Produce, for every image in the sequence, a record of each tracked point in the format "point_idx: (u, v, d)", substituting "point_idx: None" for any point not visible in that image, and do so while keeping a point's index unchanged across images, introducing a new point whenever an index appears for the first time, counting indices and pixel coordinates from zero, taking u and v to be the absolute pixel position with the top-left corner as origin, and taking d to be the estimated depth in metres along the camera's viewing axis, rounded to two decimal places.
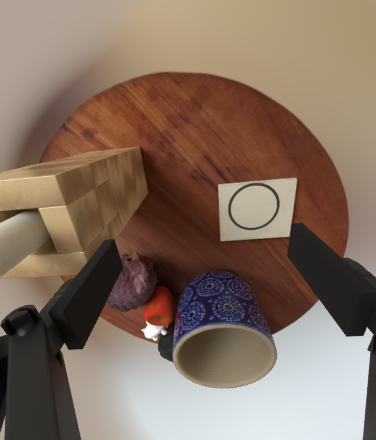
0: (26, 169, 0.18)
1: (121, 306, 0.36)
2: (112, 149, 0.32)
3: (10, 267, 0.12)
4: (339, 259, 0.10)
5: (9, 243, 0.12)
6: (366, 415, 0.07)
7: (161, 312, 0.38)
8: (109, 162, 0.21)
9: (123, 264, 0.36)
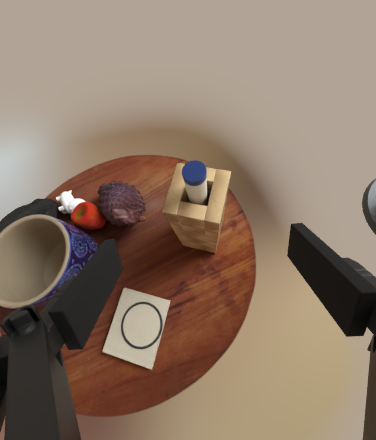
0: None
1: (108, 192, 0.45)
2: (219, 235, 0.47)
3: (186, 186, 0.25)
4: (339, 259, 0.10)
5: (197, 192, 0.25)
6: (366, 415, 0.07)
7: (86, 217, 0.45)
8: (214, 239, 0.34)
9: (139, 207, 0.47)
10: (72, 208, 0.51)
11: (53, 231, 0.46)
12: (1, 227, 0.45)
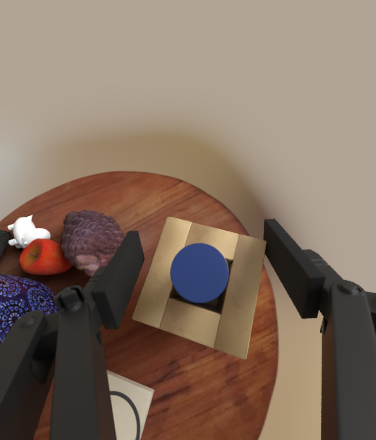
0: None
1: (72, 229, 0.31)
2: None
3: None
4: (299, 250, 0.11)
5: None
6: (322, 394, 0.07)
7: (39, 264, 0.31)
8: None
9: None
10: (28, 242, 0.37)
11: None
12: None
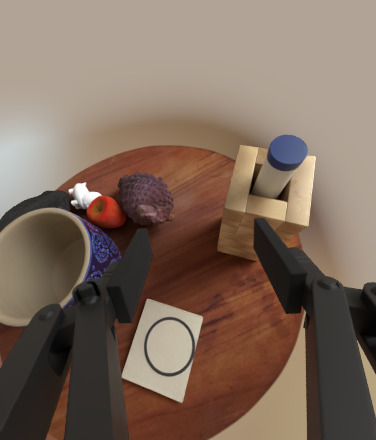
0: None
1: (133, 184, 0.38)
2: None
3: (268, 173, 0.18)
4: (284, 247, 0.12)
5: (282, 181, 0.18)
6: (307, 388, 0.07)
7: (106, 214, 0.38)
8: None
9: (167, 203, 0.40)
10: (87, 203, 0.44)
11: (65, 229, 0.38)
12: (4, 222, 0.38)
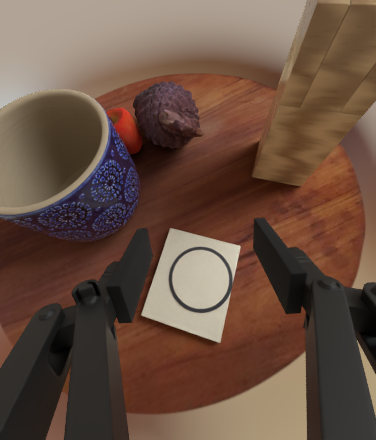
0: None
1: (154, 89, 0.31)
2: None
3: None
4: (284, 247, 0.12)
5: None
6: (307, 388, 0.07)
7: (121, 124, 0.31)
8: (352, 120, 0.20)
9: (195, 117, 0.33)
10: None
11: (72, 144, 0.32)
12: None
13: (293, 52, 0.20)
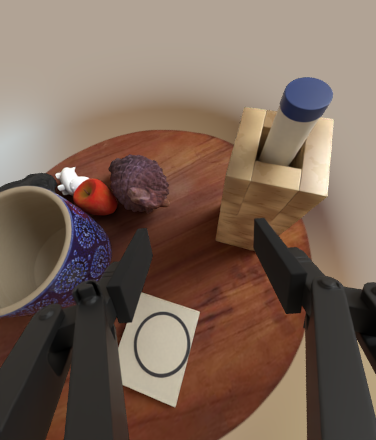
0: None
1: (124, 166, 0.34)
2: None
3: (280, 129, 0.15)
4: (284, 247, 0.12)
5: (297, 139, 0.15)
6: (307, 389, 0.07)
7: (94, 198, 0.34)
8: (281, 229, 0.24)
9: (162, 188, 0.36)
10: (75, 188, 0.40)
11: (49, 214, 0.35)
12: None
13: None
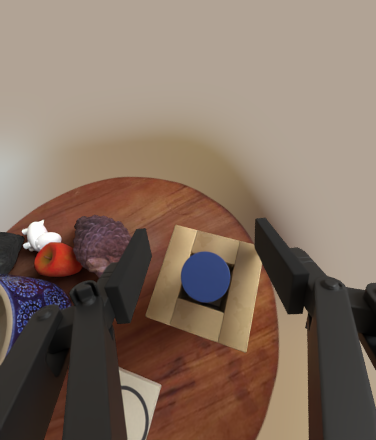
0: None
1: (84, 234, 0.33)
2: None
3: None
4: (286, 248, 0.12)
5: None
6: (308, 389, 0.07)
7: (53, 266, 0.34)
8: None
9: None
10: (41, 246, 0.40)
11: None
12: None
13: None
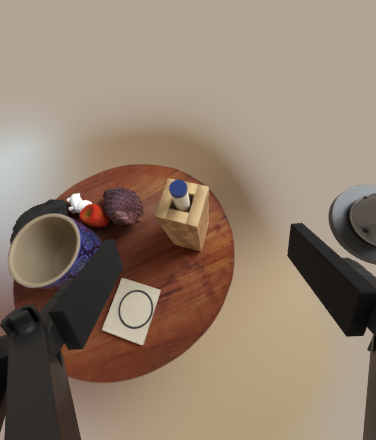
0: (206, 207, 0.41)
1: (112, 196, 0.53)
2: (205, 236, 0.55)
3: None
4: (339, 259, 0.10)
5: (180, 202, 0.34)
6: (366, 415, 0.07)
7: (93, 217, 0.53)
8: (196, 238, 0.43)
9: (138, 210, 0.55)
10: (80, 208, 0.59)
11: (64, 227, 0.54)
12: (20, 223, 0.53)
13: None
